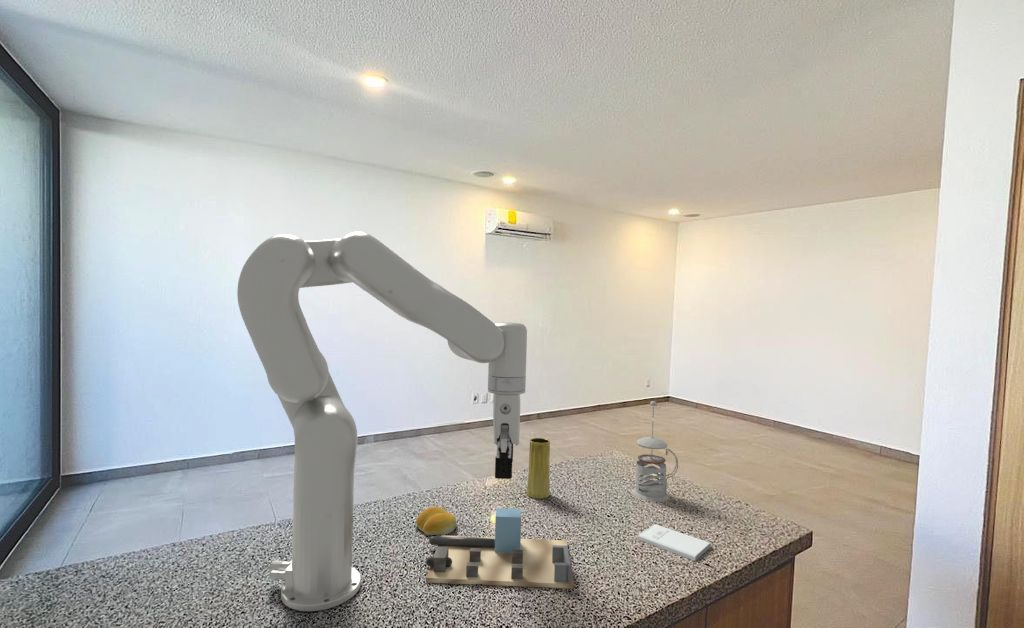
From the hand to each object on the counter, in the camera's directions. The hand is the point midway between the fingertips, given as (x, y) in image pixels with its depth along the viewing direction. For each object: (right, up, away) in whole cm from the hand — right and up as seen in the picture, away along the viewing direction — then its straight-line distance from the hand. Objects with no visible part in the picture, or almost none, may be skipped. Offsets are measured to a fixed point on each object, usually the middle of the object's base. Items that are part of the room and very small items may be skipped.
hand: (504, 469), depth 97 cm
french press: (+39, -17, +32) cm, 54 cm away
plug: (-6, -15, 0) cm, 16 cm away
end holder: (+10, -16, -8) cm, 21 cm away
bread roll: (-15, -16, +10) cm, 24 cm away
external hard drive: (+36, -18, +6) cm, 40 cm away
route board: (0, -16, -4) cm, 17 cm away
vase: (+8, -16, +30) cm, 35 cm away
